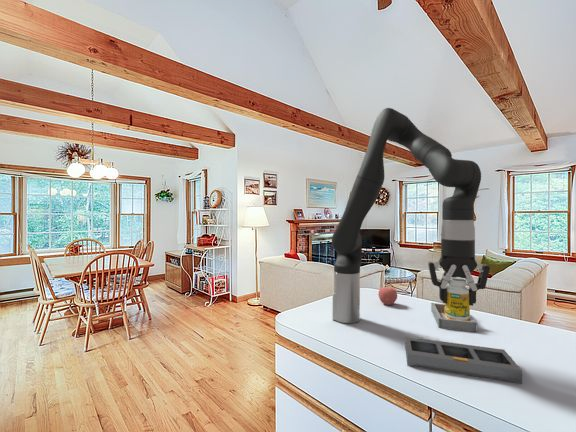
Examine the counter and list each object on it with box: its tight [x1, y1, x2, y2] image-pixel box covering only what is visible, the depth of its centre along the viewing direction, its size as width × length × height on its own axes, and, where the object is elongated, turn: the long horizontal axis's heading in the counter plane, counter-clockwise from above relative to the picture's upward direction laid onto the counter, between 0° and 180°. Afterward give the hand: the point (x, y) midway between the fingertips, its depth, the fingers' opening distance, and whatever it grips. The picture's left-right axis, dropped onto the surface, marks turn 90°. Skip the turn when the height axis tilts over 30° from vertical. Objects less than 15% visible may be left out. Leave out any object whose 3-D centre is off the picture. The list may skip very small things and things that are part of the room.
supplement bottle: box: [445, 277, 471, 320], centre depth 76 cm, size 5×5×10 cm
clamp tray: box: [430, 302, 477, 333], centre depth 106 cm, size 11×19×3 cm, turn 161°
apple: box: [378, 285, 398, 306], centre depth 125 cm, size 7×7×8 cm
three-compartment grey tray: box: [404, 336, 523, 385], centre depth 75 cm, size 24×11×3 cm, turn 71°
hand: (457, 303), depth 75 cm, fingers closed on supplement bottle, 5 cm apart
